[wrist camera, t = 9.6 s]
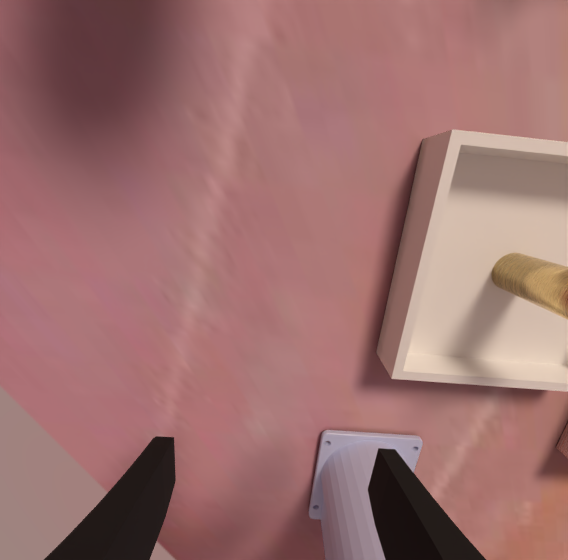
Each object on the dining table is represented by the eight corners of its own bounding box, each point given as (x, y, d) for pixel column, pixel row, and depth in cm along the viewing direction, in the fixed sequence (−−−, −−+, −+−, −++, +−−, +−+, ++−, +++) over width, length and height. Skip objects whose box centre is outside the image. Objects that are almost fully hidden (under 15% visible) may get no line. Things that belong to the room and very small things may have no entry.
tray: (562, 366, 21) (605, 394, 19) (376, 352, 21) (391, 378, 18) (652, 164, 17) (727, 159, 14) (422, 139, 17) (452, 129, 14)
